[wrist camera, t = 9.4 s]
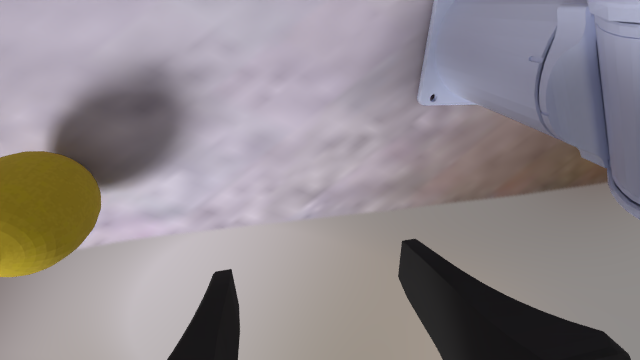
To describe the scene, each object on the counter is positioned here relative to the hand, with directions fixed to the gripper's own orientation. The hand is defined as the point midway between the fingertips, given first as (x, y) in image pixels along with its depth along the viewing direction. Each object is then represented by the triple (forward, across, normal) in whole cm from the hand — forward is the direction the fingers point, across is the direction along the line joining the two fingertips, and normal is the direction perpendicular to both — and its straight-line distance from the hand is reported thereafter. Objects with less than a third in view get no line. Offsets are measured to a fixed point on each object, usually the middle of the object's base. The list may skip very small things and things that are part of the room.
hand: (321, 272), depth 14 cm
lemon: (+11, +13, -1) cm, 17 cm away
